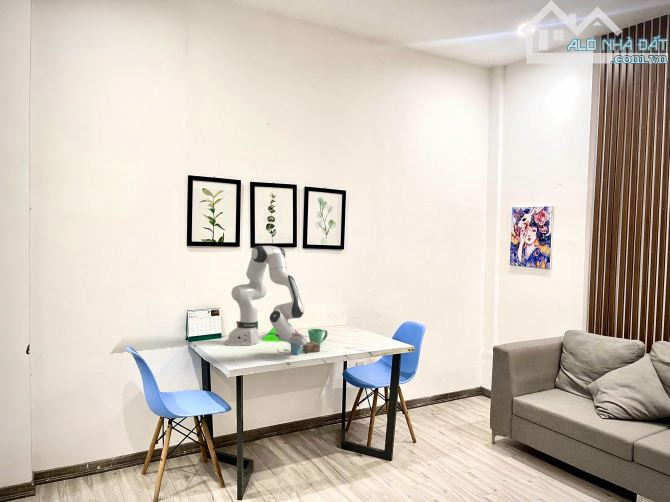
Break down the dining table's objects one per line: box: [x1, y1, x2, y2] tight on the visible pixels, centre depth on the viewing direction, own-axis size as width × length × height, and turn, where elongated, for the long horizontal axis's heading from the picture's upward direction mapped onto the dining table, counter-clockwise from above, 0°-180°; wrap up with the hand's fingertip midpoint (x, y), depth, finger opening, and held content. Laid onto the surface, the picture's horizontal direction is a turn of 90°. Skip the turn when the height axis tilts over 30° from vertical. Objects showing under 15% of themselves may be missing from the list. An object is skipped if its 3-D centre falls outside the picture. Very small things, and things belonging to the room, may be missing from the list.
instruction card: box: [276, 347, 291, 353], centre depth 296 cm, size 10×7×1 cm
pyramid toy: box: [261, 326, 299, 343], centre depth 332 cm, size 25×25×14 cm
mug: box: [307, 328, 328, 345], centre depth 312 cm, size 15×10×10 cm
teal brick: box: [290, 343, 303, 356], centre depth 289 cm, size 5×5×9 cm
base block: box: [302, 341, 321, 354], centre depth 296 cm, size 8×8×5 cm
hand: (297, 345), depth 290 cm, fingers closed on teal brick, 5 cm apart
